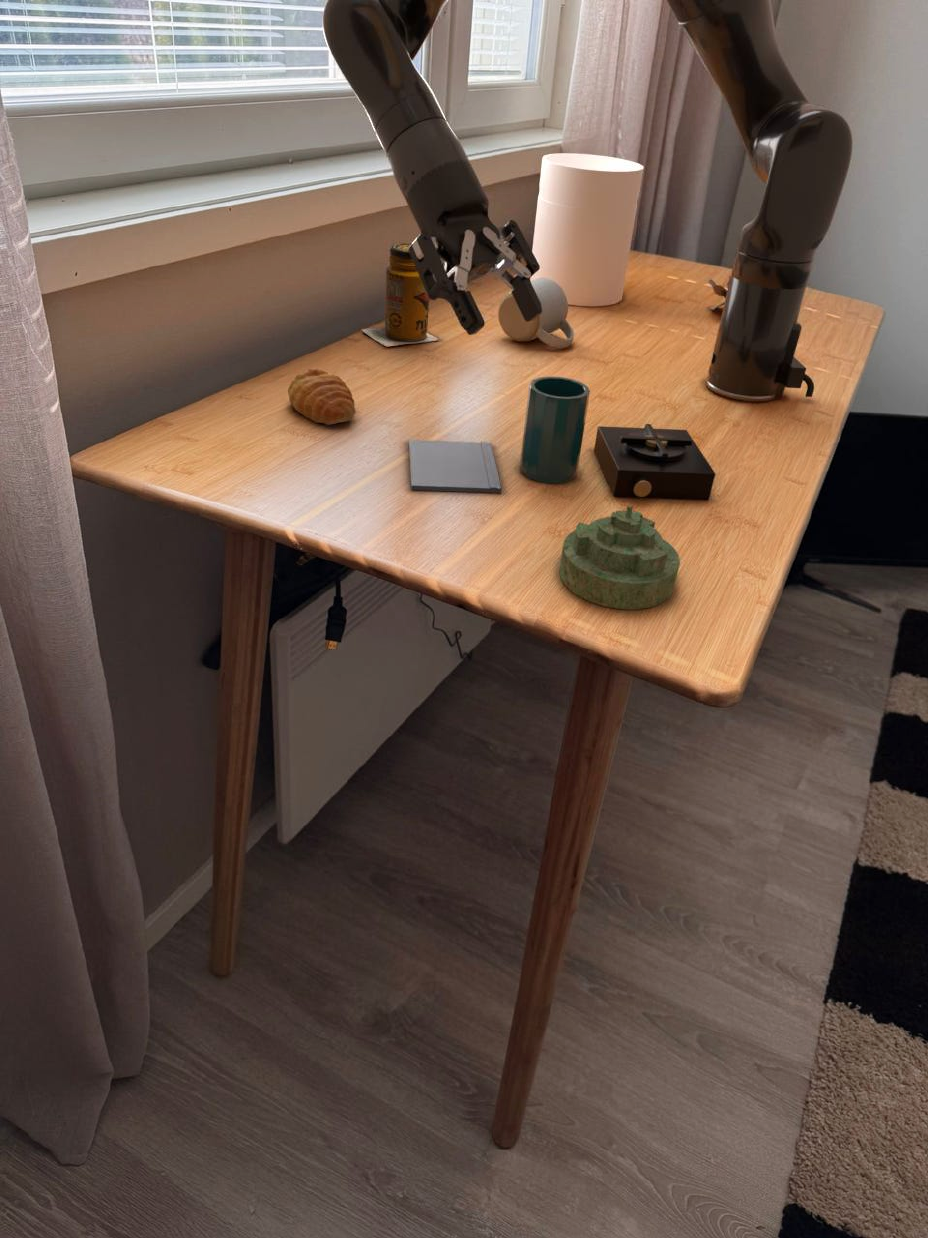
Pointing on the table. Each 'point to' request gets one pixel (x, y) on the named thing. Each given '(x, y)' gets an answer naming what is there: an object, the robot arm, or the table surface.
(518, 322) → the ceramic mug
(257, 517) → the table surface
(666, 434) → the stove
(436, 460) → the grey notebook
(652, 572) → the decorative artifact
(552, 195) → the canister
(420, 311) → the condiment
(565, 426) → the dark teal cup
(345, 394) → the pastry
